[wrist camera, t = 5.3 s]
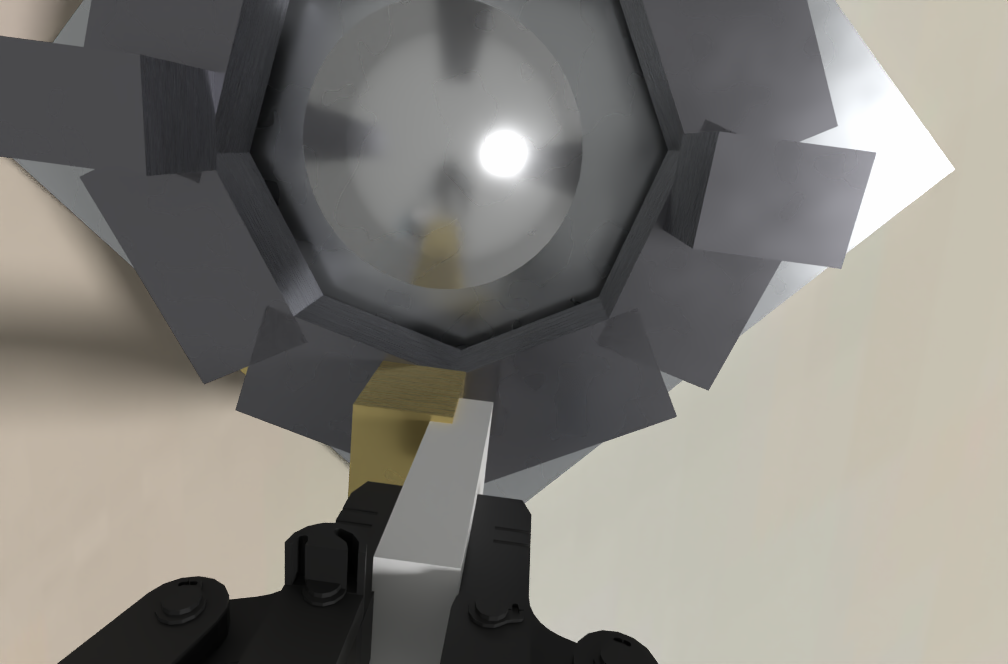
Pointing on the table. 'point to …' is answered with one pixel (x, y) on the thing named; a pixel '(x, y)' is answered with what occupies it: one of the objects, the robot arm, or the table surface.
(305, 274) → the octagonal block ring
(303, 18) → the base plate
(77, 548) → the table surface
